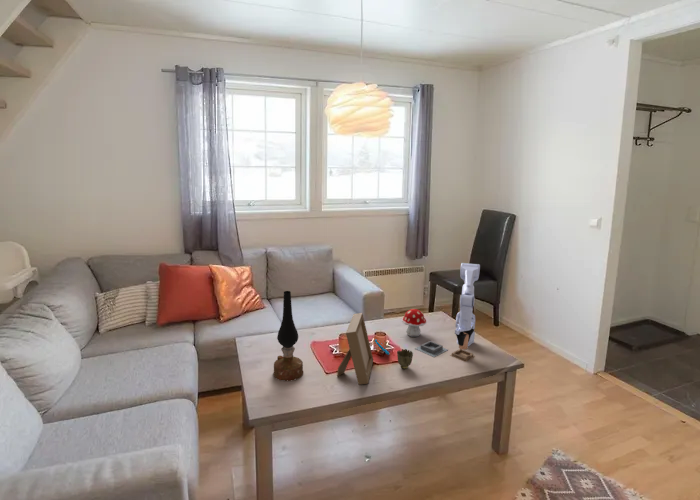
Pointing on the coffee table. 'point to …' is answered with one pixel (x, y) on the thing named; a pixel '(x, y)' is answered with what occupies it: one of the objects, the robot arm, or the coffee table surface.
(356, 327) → the photo frame
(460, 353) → the holder
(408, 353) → the cup
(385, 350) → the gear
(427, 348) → the socket board
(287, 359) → the oil lamp
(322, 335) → the coffee table surface
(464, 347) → the peg
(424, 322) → the decorative mushroom
